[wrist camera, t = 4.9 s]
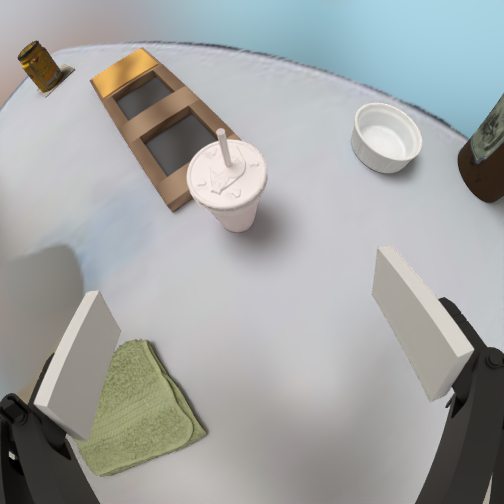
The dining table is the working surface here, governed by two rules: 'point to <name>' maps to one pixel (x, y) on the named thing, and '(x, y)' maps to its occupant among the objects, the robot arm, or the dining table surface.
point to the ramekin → (385, 137)
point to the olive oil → (485, 157)
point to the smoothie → (228, 181)
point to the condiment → (42, 68)
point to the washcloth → (137, 413)
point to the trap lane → (158, 121)
